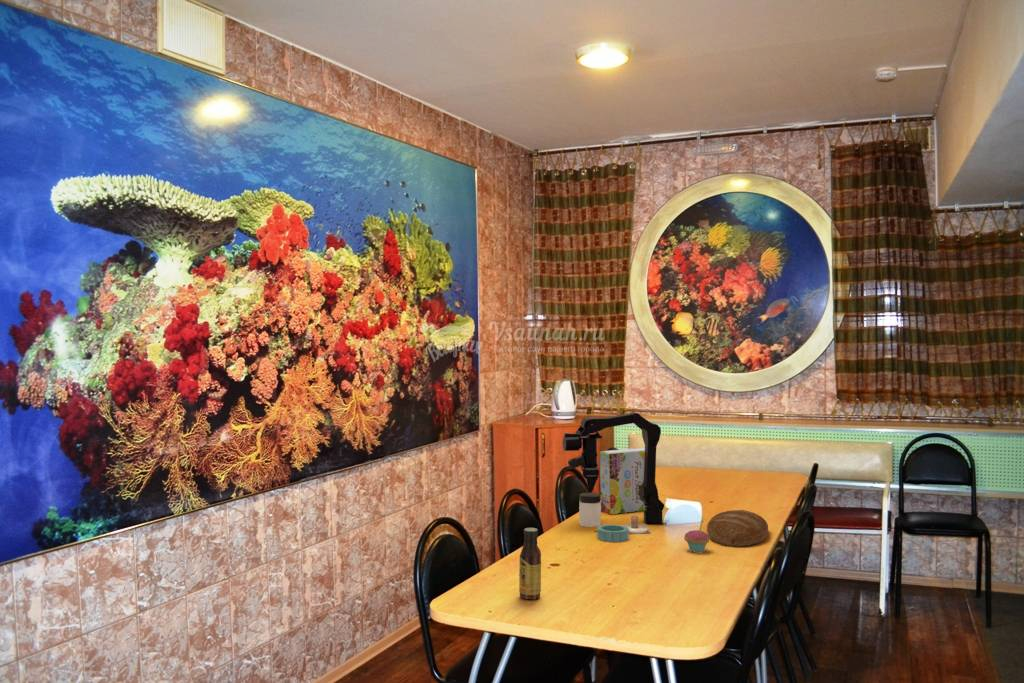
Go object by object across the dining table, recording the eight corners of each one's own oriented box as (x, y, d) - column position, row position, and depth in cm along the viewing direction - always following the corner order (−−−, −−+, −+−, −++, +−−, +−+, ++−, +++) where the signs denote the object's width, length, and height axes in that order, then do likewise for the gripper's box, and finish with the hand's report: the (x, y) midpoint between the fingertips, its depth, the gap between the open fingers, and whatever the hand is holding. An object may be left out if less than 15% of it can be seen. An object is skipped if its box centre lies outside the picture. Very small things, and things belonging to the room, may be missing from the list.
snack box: (642, 506, 368) (642, 447, 367) (653, 510, 360) (654, 449, 359) (598, 511, 358) (599, 450, 358) (610, 515, 350) (610, 453, 350)
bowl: (623, 534, 318) (623, 524, 318) (631, 542, 307) (631, 531, 307) (594, 535, 317) (594, 525, 316) (601, 543, 305) (601, 532, 305)
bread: (771, 527, 332) (771, 505, 332) (764, 551, 298) (764, 527, 298) (713, 522, 340) (714, 501, 340) (700, 545, 305) (701, 521, 305)
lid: (643, 527, 329) (643, 513, 329) (651, 533, 319) (651, 519, 319) (618, 527, 327) (618, 514, 327) (625, 534, 317) (625, 520, 317)
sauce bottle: (518, 594, 248) (518, 526, 248) (539, 593, 249) (539, 525, 248) (520, 601, 242) (520, 531, 241) (542, 601, 242) (542, 531, 242)
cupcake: (710, 549, 299) (710, 514, 298) (707, 555, 291) (708, 520, 290) (685, 546, 302) (686, 513, 301) (682, 552, 294) (682, 518, 293)
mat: (643, 528, 329) (643, 527, 329) (651, 534, 319) (651, 533, 319) (618, 528, 327) (618, 527, 327) (625, 535, 317) (625, 534, 317)
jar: (587, 528, 327) (587, 497, 327) (574, 524, 334) (574, 494, 334) (605, 525, 332) (605, 495, 332) (592, 521, 339) (592, 491, 339)
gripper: (568, 446, 341) (568, 485, 341) (569, 453, 322) (569, 495, 322) (596, 446, 340) (596, 485, 341) (599, 453, 321) (599, 495, 322)
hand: (590, 490), depth 331 cm, fingers open, 9 cm apart
